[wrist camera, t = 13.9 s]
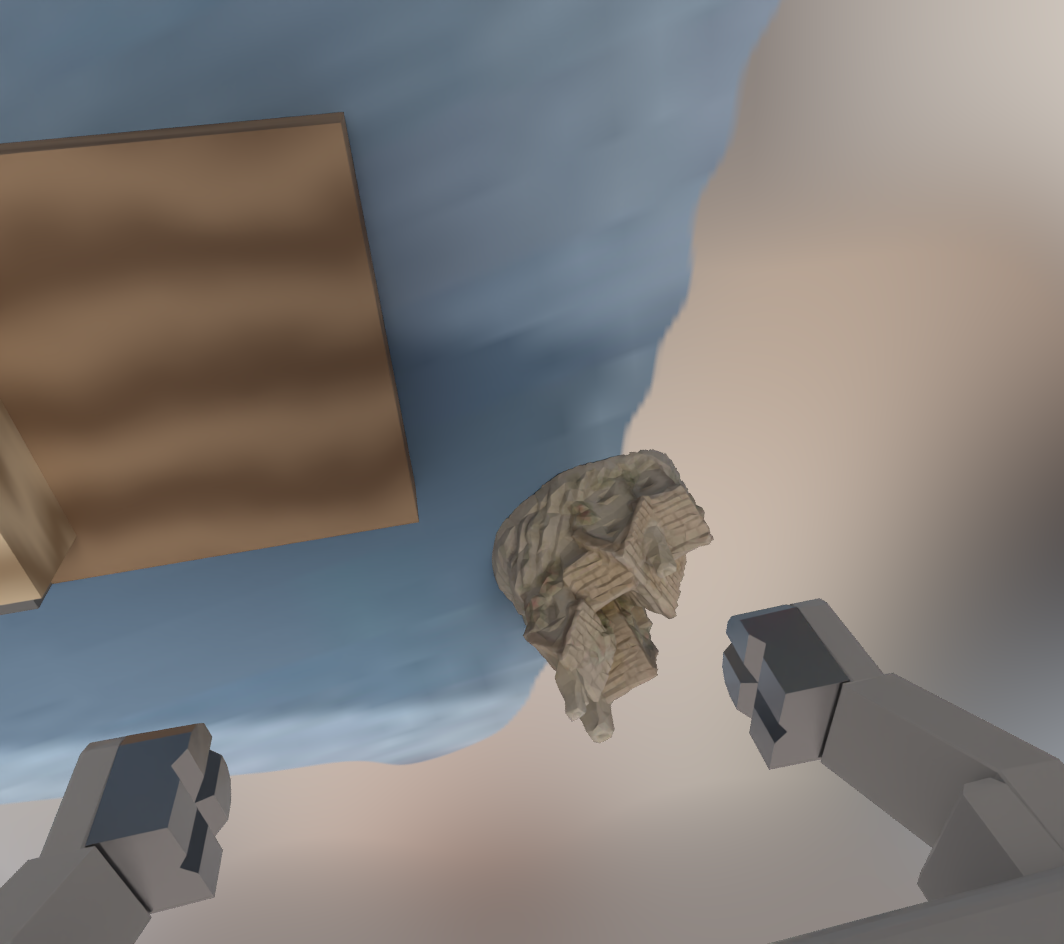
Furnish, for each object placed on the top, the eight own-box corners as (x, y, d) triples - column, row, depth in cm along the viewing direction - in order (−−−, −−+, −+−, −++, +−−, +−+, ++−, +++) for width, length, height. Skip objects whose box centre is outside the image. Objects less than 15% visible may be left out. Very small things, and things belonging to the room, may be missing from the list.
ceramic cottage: (539, 657, 57) (597, 824, 44) (458, 510, 48) (502, 667, 35) (710, 577, 57) (816, 720, 45) (661, 416, 48) (776, 538, 36)
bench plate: (-139, 156, 31) (-200, 173, 27) (343, 112, 33) (340, 122, 30) (76, 540, 43) (52, 583, 40) (415, 485, 46) (418, 521, 42)
